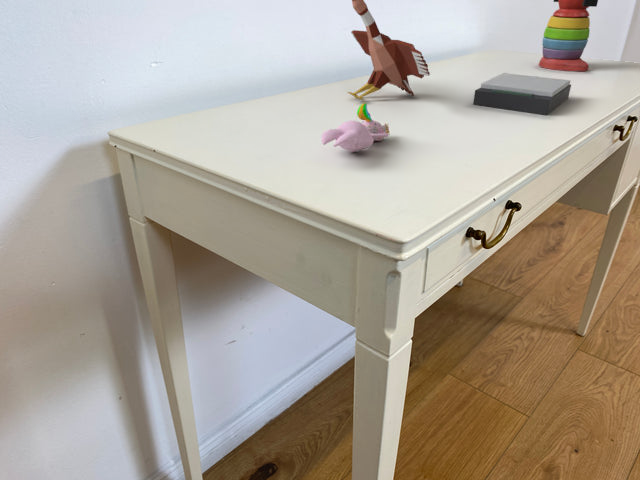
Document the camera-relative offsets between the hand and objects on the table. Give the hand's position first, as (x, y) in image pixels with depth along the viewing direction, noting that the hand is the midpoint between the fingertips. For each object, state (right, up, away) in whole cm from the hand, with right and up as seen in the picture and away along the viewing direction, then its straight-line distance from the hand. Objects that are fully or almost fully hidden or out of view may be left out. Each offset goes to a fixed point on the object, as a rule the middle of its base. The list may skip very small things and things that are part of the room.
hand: (573, 4), depth 110 cm
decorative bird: (-45, -26, -20) cm, 56 cm away
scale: (-21, -28, -23) cm, 42 cm away
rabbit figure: (-51, -40, -46) cm, 80 cm away
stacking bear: (0, -12, +6) cm, 13 cm away
